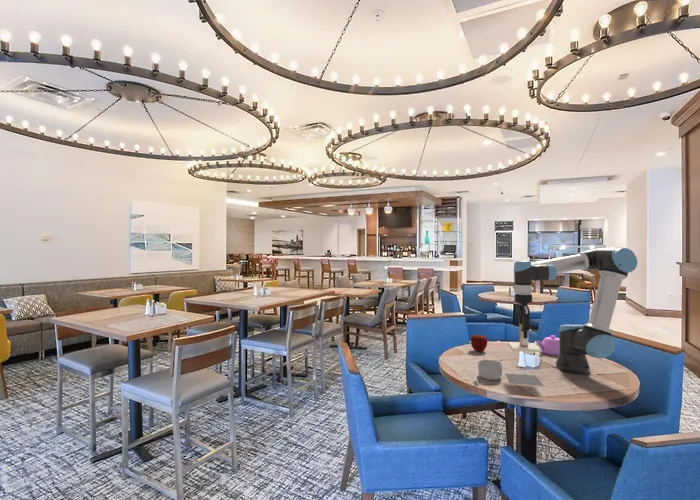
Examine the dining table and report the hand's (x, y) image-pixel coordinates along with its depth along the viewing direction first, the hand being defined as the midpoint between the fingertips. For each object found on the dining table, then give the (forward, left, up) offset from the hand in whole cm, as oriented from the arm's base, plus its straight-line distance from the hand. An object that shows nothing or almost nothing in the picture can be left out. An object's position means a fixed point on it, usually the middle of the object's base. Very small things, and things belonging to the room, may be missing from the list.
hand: (524, 343), depth 174 cm
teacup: (+15, -1, -18) cm, 24 cm away
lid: (0, 0, -2) cm, 2 cm away
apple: (+14, -51, -18) cm, 56 cm away
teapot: (-28, -56, -18) cm, 65 cm away
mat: (0, 0, -18) cm, 18 cm away
